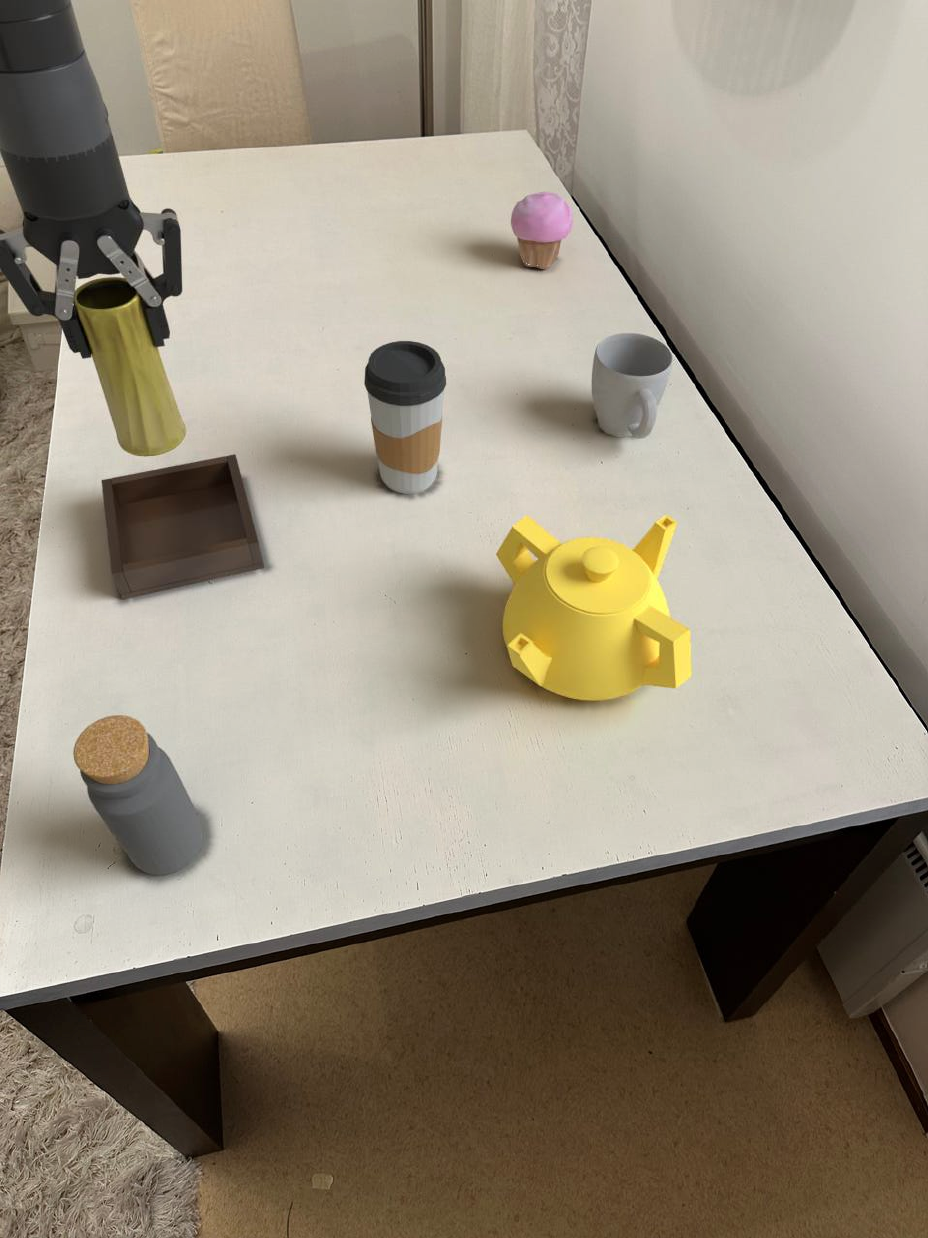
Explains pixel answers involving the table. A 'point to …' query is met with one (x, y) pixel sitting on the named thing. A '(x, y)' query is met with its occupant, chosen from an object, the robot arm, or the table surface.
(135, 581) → the tray
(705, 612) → the table surface
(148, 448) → the vase
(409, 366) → the coffee cup
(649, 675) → the teapot
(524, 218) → the cupcake
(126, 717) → the bottle
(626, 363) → the mug
